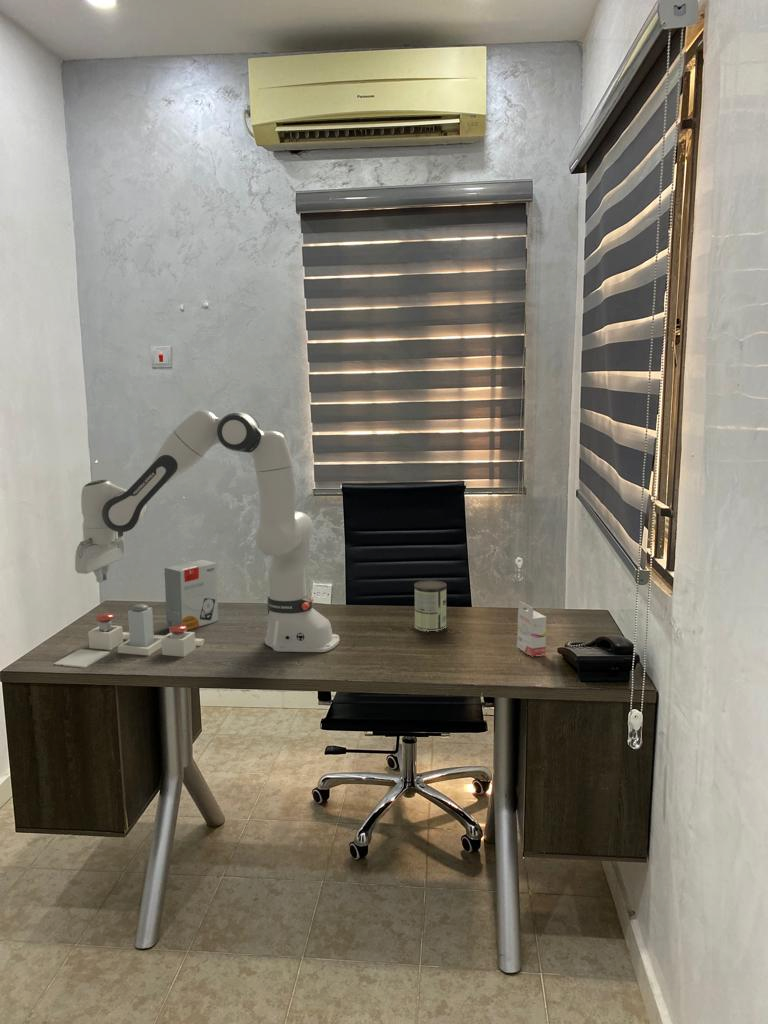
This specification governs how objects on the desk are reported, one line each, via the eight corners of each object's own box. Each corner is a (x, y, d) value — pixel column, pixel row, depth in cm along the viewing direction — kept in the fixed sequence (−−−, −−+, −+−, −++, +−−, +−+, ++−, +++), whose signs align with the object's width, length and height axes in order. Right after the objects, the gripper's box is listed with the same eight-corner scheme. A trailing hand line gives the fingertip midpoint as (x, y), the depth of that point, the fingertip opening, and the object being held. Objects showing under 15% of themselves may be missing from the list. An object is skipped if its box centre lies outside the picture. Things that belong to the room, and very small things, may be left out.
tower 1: (123, 642, 244) (122, 626, 243) (110, 649, 238) (109, 633, 237) (103, 640, 246) (102, 624, 245) (89, 647, 239) (88, 631, 238)
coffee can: (413, 621, 263) (413, 580, 260) (445, 621, 263) (445, 580, 260) (414, 632, 253) (414, 588, 250) (447, 632, 252) (447, 588, 250)
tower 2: (195, 648, 238) (194, 632, 237) (184, 656, 232) (183, 640, 231) (174, 646, 240) (173, 630, 239) (162, 654, 233) (161, 638, 232)
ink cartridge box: (546, 656, 231) (548, 606, 229) (531, 658, 230) (532, 608, 227) (530, 646, 239) (532, 598, 237) (516, 648, 237) (517, 600, 235)
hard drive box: (181, 633, 252) (178, 571, 249) (165, 628, 257) (162, 567, 253) (219, 620, 265) (216, 561, 261) (203, 616, 269) (201, 558, 266)
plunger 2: (190, 647, 238) (189, 624, 236) (182, 653, 233) (181, 630, 232) (175, 646, 239) (174, 623, 238) (167, 652, 234) (165, 628, 233)
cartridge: (154, 646, 241) (152, 604, 238) (145, 651, 236) (143, 609, 233) (139, 644, 242) (136, 603, 239) (130, 650, 237) (127, 608, 235)
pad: (109, 653, 235) (109, 651, 235) (85, 667, 223) (85, 666, 223) (79, 650, 237) (79, 649, 237) (53, 664, 226) (53, 663, 226)
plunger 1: (118, 635, 243) (116, 613, 242) (108, 641, 238) (107, 618, 237) (103, 634, 244) (102, 612, 243) (93, 639, 240) (92, 617, 238)
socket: (204, 643, 243) (203, 637, 242) (183, 658, 230) (182, 652, 230) (110, 635, 250) (109, 629, 250) (84, 649, 238) (84, 643, 238)
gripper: (87, 543, 225) (90, 591, 228) (127, 529, 245) (130, 573, 247) (67, 542, 227) (71, 589, 229) (109, 528, 246) (111, 572, 249)
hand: (102, 581), depth 238 cm, fingers closed
